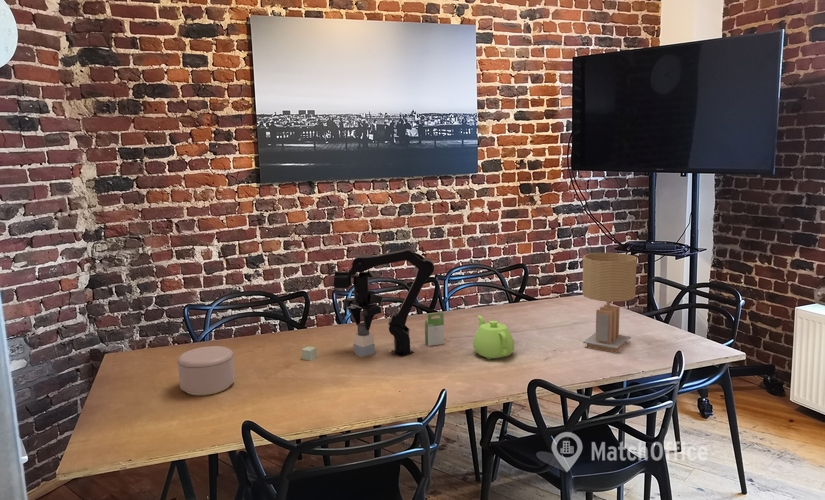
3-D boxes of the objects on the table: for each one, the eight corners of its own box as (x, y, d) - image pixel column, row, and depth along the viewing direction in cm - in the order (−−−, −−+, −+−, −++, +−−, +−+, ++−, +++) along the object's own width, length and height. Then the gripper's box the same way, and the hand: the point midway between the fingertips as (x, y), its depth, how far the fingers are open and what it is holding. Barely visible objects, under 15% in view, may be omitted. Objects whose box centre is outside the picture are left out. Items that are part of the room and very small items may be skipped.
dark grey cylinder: (371, 334, 230) (370, 324, 229) (361, 336, 227) (361, 326, 226) (365, 331, 233) (365, 321, 232) (355, 334, 231) (355, 324, 230)
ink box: (441, 341, 243) (440, 309, 241) (444, 344, 240) (443, 312, 237) (425, 343, 241) (424, 311, 239) (428, 346, 238) (427, 314, 235)
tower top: (374, 343, 231) (373, 334, 230) (363, 347, 227) (362, 337, 227) (365, 340, 235) (364, 331, 234) (354, 344, 231) (354, 334, 230)
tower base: (375, 354, 231) (374, 344, 230) (361, 357, 228) (361, 347, 227) (367, 350, 236) (366, 340, 235) (354, 353, 232) (353, 343, 232)
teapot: (462, 347, 235) (461, 315, 233) (495, 342, 241) (495, 311, 238) (488, 365, 215) (488, 331, 213) (524, 359, 220) (524, 325, 218)
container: (216, 372, 216) (214, 341, 214) (246, 384, 204) (243, 351, 202) (170, 388, 202) (166, 355, 200) (198, 401, 191) (195, 367, 189)
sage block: (316, 357, 229) (316, 347, 228) (310, 360, 225) (309, 350, 224) (308, 356, 230) (308, 346, 230) (302, 359, 227) (301, 349, 226)
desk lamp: (624, 356, 220) (627, 263, 214) (573, 347, 232) (575, 258, 226) (639, 342, 236) (643, 255, 230) (591, 334, 247) (594, 251, 241)
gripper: (392, 289, 224) (393, 328, 227) (366, 281, 239) (368, 318, 242) (367, 294, 218) (369, 334, 221) (342, 285, 233) (344, 323, 235)
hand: (363, 327), depth 230 cm, fingers open, 7 cm apart
